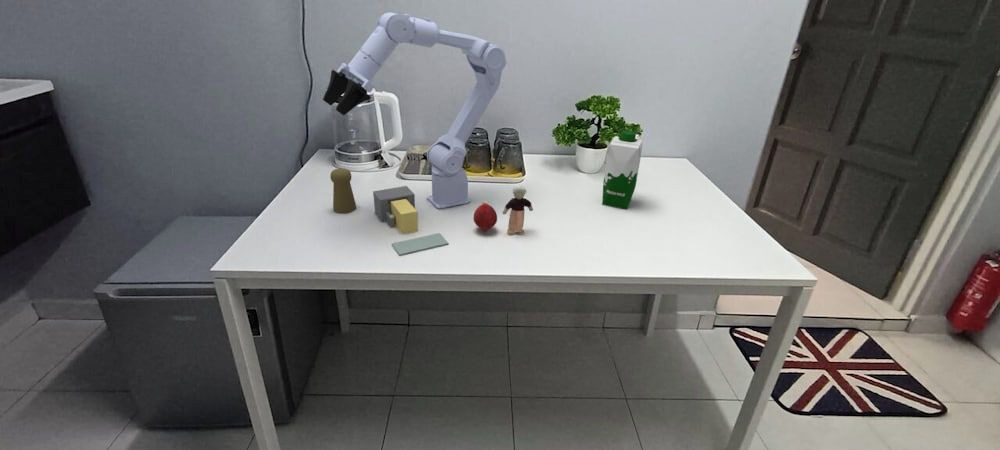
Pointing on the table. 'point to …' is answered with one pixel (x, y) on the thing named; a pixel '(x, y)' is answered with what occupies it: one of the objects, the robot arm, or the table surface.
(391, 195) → the grey boxy piece
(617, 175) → the milk carton
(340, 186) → the cork
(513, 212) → the grandmother figurine
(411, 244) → the mat
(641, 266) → the table surface
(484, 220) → the onion
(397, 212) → the tall tan block
